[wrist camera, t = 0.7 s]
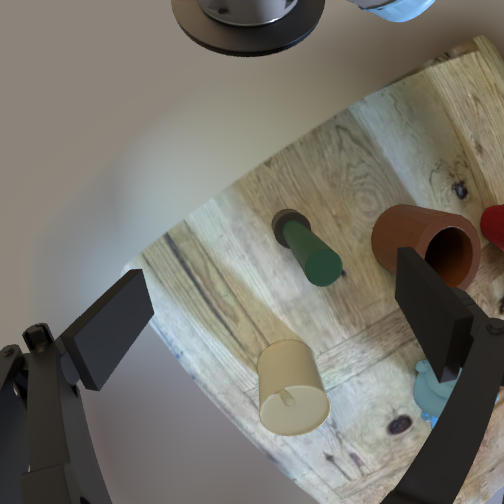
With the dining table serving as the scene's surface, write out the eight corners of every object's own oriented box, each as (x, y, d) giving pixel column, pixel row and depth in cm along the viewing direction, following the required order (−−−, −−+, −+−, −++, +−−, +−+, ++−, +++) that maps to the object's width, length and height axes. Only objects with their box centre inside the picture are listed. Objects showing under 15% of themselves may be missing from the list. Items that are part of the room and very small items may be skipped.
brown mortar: (365, 212, 42) (407, 225, 29) (424, 198, 42) (477, 206, 29) (376, 279, 44) (417, 313, 32) (432, 261, 44) (481, 287, 31)
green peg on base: (268, 213, 42) (284, 245, 21) (300, 205, 42) (348, 228, 20) (276, 245, 43) (299, 306, 22) (307, 236, 43) (359, 289, 21)
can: (302, 329, 46) (316, 374, 34) (324, 373, 48) (341, 422, 36) (246, 355, 47) (245, 404, 35) (272, 396, 48) (277, 447, 37)
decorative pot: (404, 345, 47) (442, 390, 33) (477, 312, 46) (523, 344, 32) (407, 411, 50) (434, 457, 37) (473, 380, 49) (507, 416, 36)
